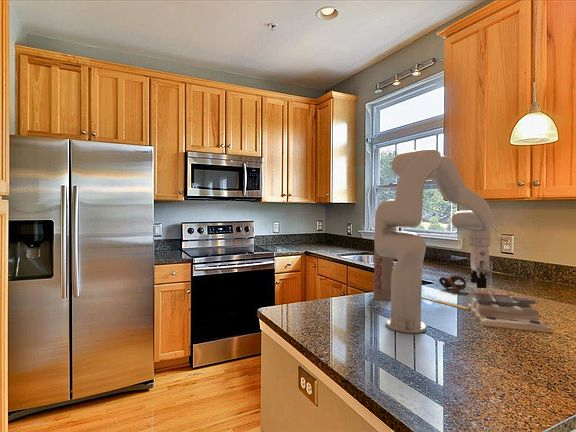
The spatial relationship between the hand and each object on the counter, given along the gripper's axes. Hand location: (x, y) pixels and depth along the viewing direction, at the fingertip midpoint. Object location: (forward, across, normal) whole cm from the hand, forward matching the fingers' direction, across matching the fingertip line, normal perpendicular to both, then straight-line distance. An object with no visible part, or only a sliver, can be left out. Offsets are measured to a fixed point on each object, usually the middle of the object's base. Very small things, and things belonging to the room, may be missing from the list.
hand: (478, 285), depth 135 cm
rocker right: (+3, -8, -13) cm, 15 cm away
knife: (+10, +8, +16) cm, 20 cm away
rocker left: (+3, -8, 0) cm, 9 cm away
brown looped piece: (+10, +30, +5) cm, 32 cm away
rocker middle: (+3, -8, -6) cm, 11 cm away
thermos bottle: (+9, +3, +37) cm, 38 cm away
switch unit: (+9, -11, -6) cm, 16 cm away
